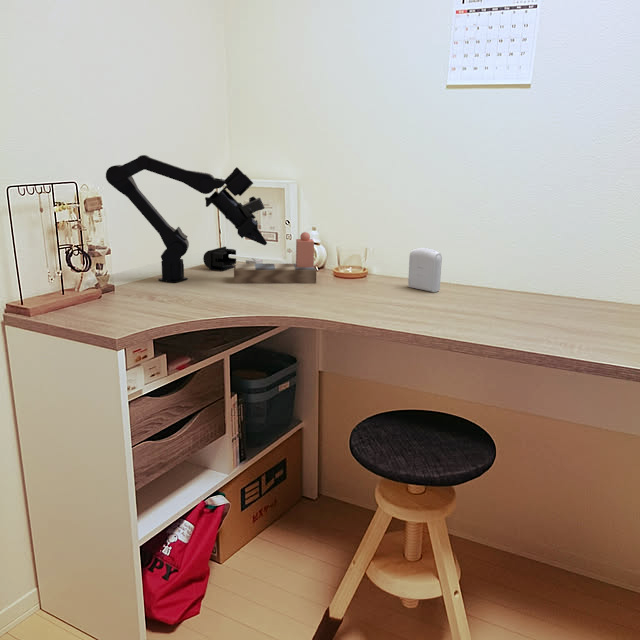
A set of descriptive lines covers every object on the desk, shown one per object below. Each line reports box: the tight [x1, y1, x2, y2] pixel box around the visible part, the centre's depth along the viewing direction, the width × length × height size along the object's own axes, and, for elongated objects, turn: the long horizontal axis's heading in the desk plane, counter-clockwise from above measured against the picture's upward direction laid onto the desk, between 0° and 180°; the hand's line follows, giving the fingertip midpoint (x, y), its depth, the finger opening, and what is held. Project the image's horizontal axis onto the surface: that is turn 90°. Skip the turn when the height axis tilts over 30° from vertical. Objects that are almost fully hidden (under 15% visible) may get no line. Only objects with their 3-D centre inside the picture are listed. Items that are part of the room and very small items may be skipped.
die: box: [245, 257, 264, 264], centre depth 213 cm, size 4×4×4 cm
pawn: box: [295, 231, 315, 267], centre depth 201 cm, size 5×5×10 cm
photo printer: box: [407, 247, 443, 293], centre depth 193 cm, size 10×4×12 cm, turn 44°
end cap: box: [202, 246, 237, 272], centre depth 218 cm, size 10×7×7 cm
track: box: [233, 262, 317, 284], centre depth 201 cm, size 25×9×4 cm, turn 97°
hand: (266, 244), depth 199 cm, fingers closed
